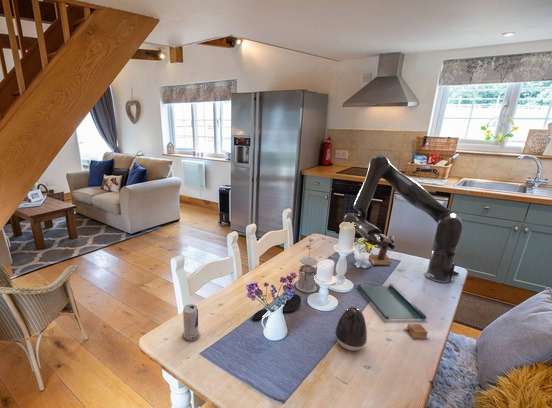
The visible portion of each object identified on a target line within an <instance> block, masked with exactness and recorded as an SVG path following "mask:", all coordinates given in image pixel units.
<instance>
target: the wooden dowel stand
mask: <svg viewBox="0 0 552 408" xmlns="http://www.w3.org/2000/svg"><path fill="white" fill-rule="evenodd" d="M390 242H391V241H390V240H389V239H383V243H385V244H386V245H387V247H386V249H383V248H381V247H380V248H379V251H378V253H377V254H369V255H368V262H369V263H370V264H371V266H372V267H373V268H385V267H386V268H390V267H391V265H392V264H393V260H391V258H390V257H389V255H388V254H387V253H388V251H389V244H390Z"/></svg>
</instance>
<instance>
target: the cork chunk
mask: <svg viewBox="0 0 552 408" xmlns="http://www.w3.org/2000/svg"><path fill="white" fill-rule="evenodd" d="M406 332H408V334H409V335H410V337H411V338H413V339H420V340H423V339H425V340H426V339H427V336H428V330H426V329H425V327H424V326H423V325H421V323H407V327H406Z"/></svg>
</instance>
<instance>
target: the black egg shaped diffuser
mask: <svg viewBox="0 0 552 408" xmlns="http://www.w3.org/2000/svg"><path fill="white" fill-rule="evenodd" d="M334 331H335V332H334V334H335V337H336V340H337V343H338V344H339V345H340V346H341V347H342V348H344V349H346V350H349V351H351V352H352V351H353V352H354V351H360V350H361V349H363V347H364V346H365V345H366V344H367V341H368V330H367V322H366V319H365V315H364V314H363V312H362V311H361V310H360V309H359V308H358V307H356V306H350V307H349V306H348V308H346V309H345V310H344V311H343V312H342V314H341V316H340V317H339V319H338V322H337V323H336V327H335V330H334Z"/></svg>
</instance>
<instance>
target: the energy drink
mask: <svg viewBox="0 0 552 408" xmlns="http://www.w3.org/2000/svg"><path fill="white" fill-rule="evenodd" d="M182 315H183V319H182V320H183V337H184V339H185V340H187V341H190V342H191V341H195V340H197V338H199V308H198V307H197V305H195V304H186V305H185V306H184V307H183V311H182Z"/></svg>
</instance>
